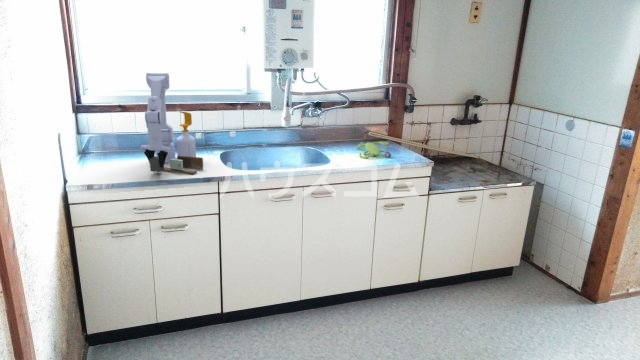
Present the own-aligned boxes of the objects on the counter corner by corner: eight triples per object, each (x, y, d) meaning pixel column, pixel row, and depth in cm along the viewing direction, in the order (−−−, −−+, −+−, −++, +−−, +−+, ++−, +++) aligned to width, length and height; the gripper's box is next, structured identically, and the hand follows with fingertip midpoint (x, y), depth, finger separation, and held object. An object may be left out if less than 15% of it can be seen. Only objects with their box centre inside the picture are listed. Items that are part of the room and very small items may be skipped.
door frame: (169, 165, 224) (169, 154, 223) (204, 168, 220) (203, 157, 218) (157, 170, 215) (157, 159, 213) (193, 174, 211) (193, 163, 209)
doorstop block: (156, 168, 213) (155, 156, 211) (164, 169, 212) (163, 157, 210) (150, 171, 209) (149, 158, 207) (159, 172, 208) (158, 159, 206)
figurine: (386, 148, 274) (387, 139, 272) (393, 160, 249) (394, 150, 247) (355, 147, 274) (356, 138, 272) (359, 159, 248) (360, 149, 246)
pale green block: (171, 168, 215) (171, 158, 214) (183, 169, 214) (182, 160, 212) (169, 169, 214) (168, 159, 212) (181, 170, 212) (180, 161, 211)
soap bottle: (174, 159, 234) (170, 111, 226) (185, 155, 242) (182, 109, 235) (188, 161, 231) (185, 113, 223) (199, 157, 239) (197, 110, 231)
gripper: (135, 137, 204) (137, 166, 208) (164, 140, 200) (166, 170, 204) (144, 134, 210) (147, 162, 214) (173, 137, 207) (175, 166, 211)
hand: (157, 166), depth 210 cm, fingers closed on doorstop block, 4 cm apart
